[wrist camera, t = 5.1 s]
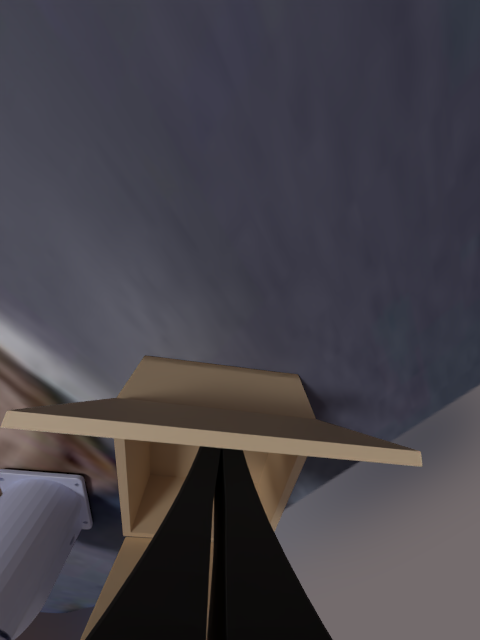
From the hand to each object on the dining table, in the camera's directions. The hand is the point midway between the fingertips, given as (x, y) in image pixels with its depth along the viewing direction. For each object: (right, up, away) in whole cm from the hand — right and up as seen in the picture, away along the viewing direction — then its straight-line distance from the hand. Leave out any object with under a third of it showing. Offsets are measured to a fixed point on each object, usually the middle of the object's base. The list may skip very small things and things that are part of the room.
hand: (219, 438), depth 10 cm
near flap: (0, +1, -1) cm, 1 cm away
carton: (-1, -4, +10) cm, 11 cm away
